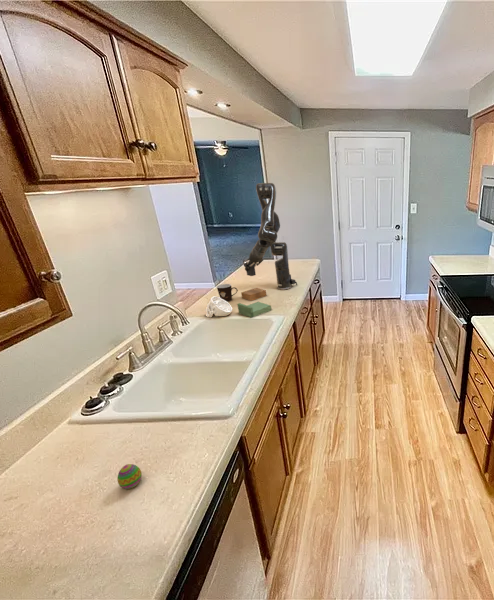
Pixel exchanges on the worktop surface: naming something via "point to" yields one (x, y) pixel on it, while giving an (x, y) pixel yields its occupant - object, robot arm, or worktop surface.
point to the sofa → (253, 309)
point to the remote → (251, 271)
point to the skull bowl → (218, 307)
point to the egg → (129, 476)
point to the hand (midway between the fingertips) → (248, 269)
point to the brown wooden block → (253, 294)
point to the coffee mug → (225, 291)
